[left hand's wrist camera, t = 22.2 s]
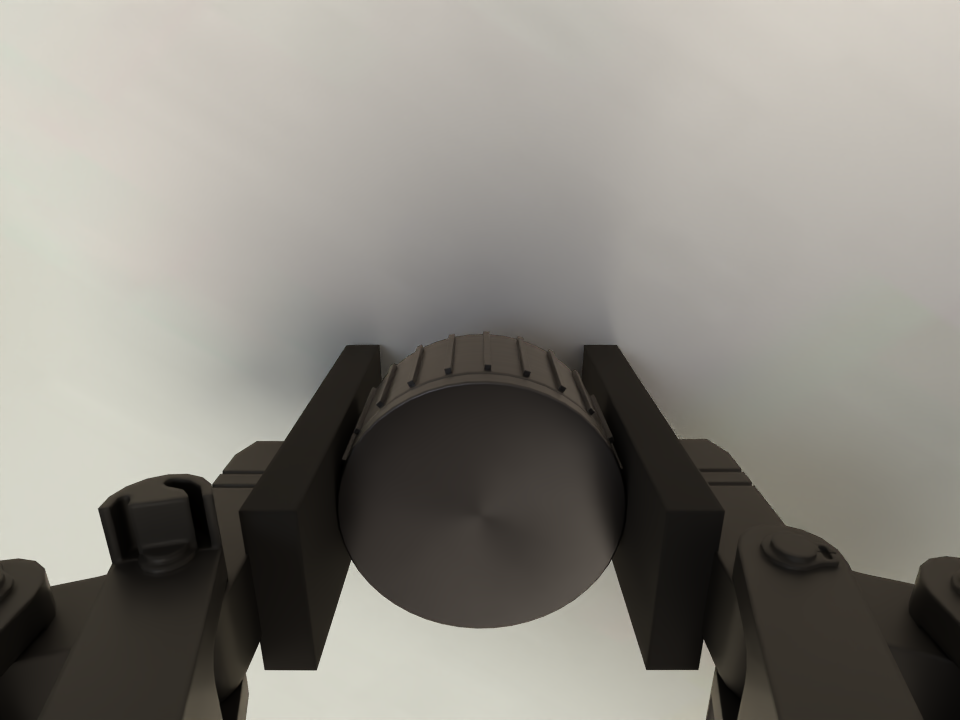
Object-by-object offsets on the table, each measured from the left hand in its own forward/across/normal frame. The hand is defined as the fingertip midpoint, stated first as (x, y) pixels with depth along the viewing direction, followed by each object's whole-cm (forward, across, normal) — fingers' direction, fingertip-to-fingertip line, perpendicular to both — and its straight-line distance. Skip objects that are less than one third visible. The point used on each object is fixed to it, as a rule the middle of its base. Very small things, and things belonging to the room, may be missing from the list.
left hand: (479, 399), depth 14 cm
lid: (-4, 0, 0) cm, 4 cm away
